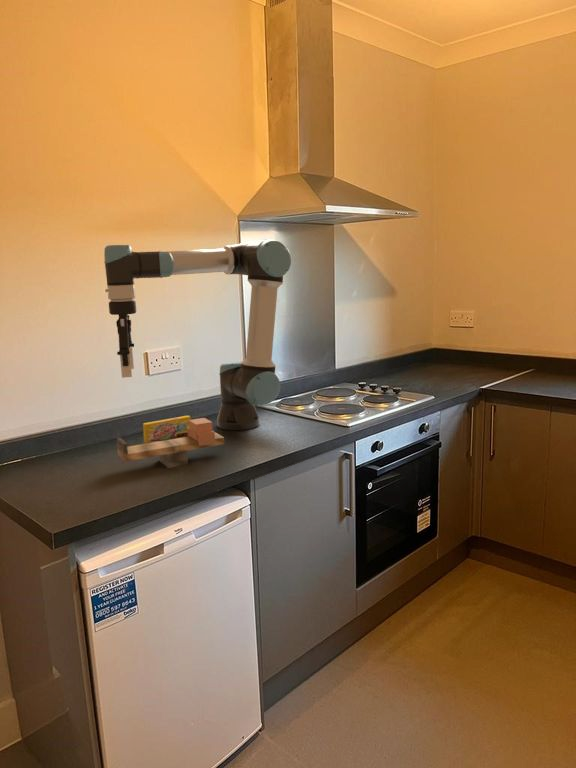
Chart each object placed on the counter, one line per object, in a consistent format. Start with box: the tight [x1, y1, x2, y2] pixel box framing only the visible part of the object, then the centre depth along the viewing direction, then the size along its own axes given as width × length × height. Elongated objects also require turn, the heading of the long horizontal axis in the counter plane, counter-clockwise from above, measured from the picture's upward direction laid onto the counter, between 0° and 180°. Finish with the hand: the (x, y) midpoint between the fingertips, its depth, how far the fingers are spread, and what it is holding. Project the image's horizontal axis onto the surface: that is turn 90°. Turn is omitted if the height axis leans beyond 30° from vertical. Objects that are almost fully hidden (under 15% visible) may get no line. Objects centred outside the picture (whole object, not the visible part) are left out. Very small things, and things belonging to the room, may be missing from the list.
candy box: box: [142, 414, 192, 444], centre depth 192 cm, size 16×2×8 cm, turn 128°
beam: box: [116, 431, 226, 469], centre depth 174 cm, size 30×8×9 cm, turn 120°
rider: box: [187, 417, 215, 446], centre depth 177 cm, size 5×9×6 cm, turn 30°
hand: (128, 373), depth 175 cm, fingers open, 13 cm apart
